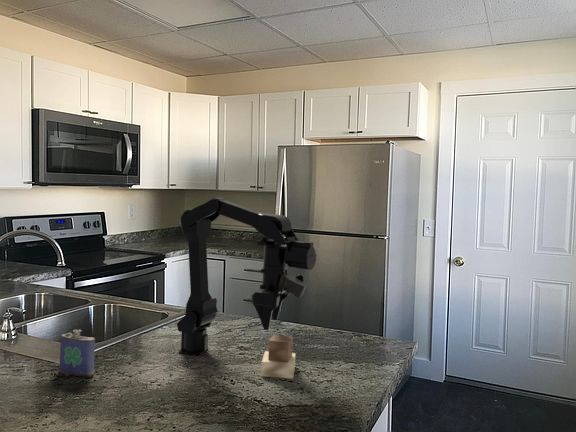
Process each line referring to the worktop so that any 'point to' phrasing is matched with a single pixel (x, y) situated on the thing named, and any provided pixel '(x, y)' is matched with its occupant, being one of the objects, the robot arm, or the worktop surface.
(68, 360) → the flask
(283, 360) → the walnut cube
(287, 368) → the beech block
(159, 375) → the worktop surface
